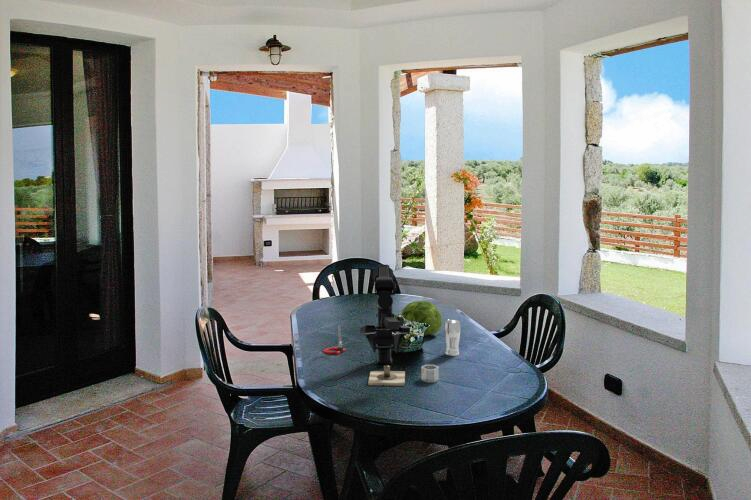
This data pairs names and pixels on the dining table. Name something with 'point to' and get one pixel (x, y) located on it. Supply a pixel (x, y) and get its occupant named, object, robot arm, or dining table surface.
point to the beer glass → (452, 337)
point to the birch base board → (394, 380)
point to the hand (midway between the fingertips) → (385, 352)
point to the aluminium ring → (430, 373)
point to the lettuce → (424, 315)
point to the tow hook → (336, 347)
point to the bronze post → (386, 371)
